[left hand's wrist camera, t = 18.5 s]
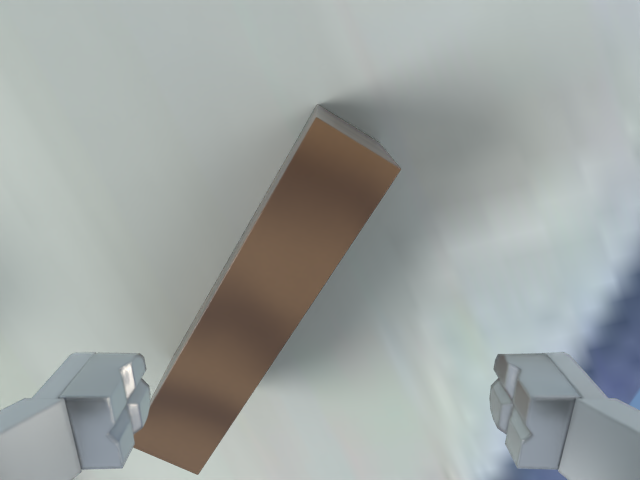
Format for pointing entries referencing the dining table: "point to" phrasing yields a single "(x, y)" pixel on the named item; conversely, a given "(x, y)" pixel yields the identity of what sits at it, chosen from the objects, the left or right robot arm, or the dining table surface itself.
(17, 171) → the dining table surface
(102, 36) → the dining table surface
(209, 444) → the bar
